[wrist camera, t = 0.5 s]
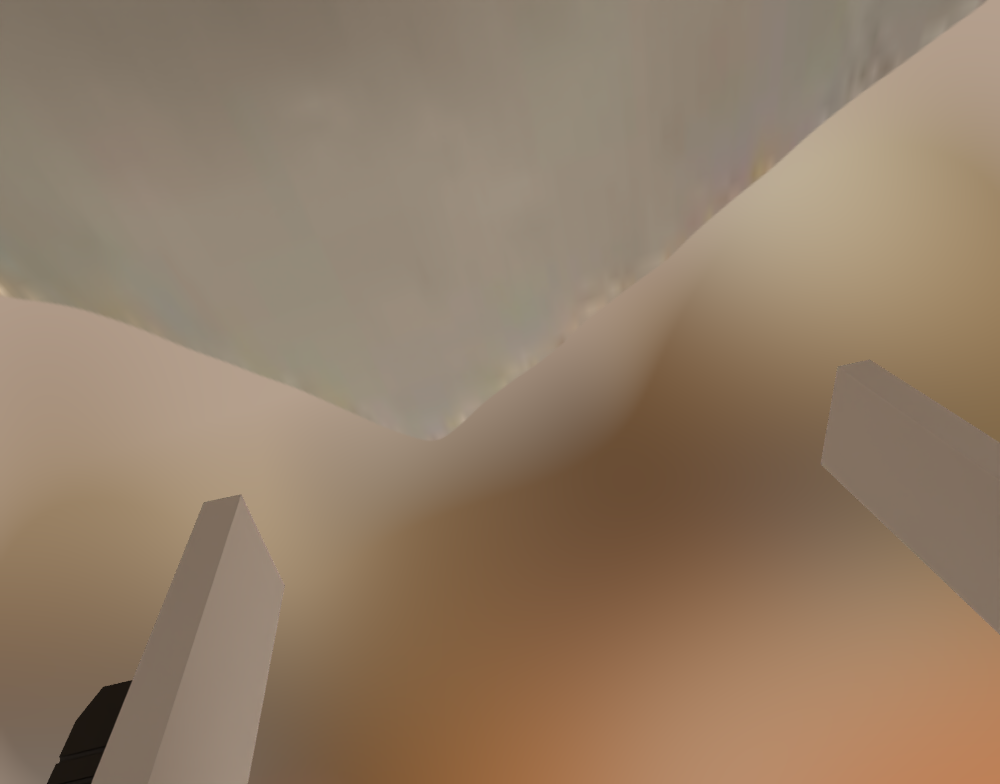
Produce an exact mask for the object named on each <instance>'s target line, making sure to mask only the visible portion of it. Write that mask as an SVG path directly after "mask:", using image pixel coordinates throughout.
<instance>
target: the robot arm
mask: <svg viewBox="0 0 1000 784" xmlns="http://www.w3.org/2000/svg"><path fill="white" fill-rule="evenodd" d="M821 465H822V466H823V467H824V468H825V469H826V470H827V471H829V473H830V474H832V475H833V476H834V477H835V478H836V479H837V480H838V481H839V482H840V483H841V484H842V485H843V486H844V487H845V488H846V489H847V490H849V492H851V493H852V494H853V495H854V496H855V497H856V498H857V499H858V500H859V501H860V502H861V503H862V504H863V505H864V506H865V507H866V508H867V509H868V510H869V511H870V512H871V513H873V514H874V515H875V516H876V517H877V518H878V519H879V520H880V521H881V522H882V523H883V524H884V525H885V526H886V527H887V528H888V529H889V530H891V532H892V533H894V534H895V535H896V536H897V537H898V538H899V539H900V540H901V541H902V542H903V543H904V544H905V545H906V546H907V547H908V548H909V549H910V550H911V551H912V552H914V553H915V554H916V555H917V556H918V557H919V558H920V559H921V560H922V561H923V562H924V563H925V564H926V565H927V566H928V567H929V568H930V569H931V570H932V571H933V572H935V573H936V574H937V575H938V576H939V577H940V578H941V579H942V580H943V581H944V582H945V583H946V584H947V585H948V586H949V587H950V588H951V589H952V590H953V591H954V592H956V593H957V594H958V595H959V596H960V597H961V598H962V599H963V600H964V601H965V602H966V603H967V604H968V605H969V606H970V607H971V608H972V609H973V610H975V611H976V612H977V613H978V614H979V615H980V616H981V617H982V618H983V619H984V620H985V621H986V622H987V623H988V624H989V625H990V626H991V627H992V628H994V629H995V630H996V631H997V632H998V633H999V634H1000V443H999V442H998V441H996V440H994V439H993V438H991V437H990V436H988V435H987V434H985V433H984V432H982V431H981V430H979V429H977V428H976V427H974V426H973V425H971V424H970V423H968V422H967V421H965V420H963V419H962V418H960V417H958V416H957V415H956V414H954V413H952V412H951V411H949V410H948V409H946V408H945V407H943V406H941V405H940V404H938V403H937V402H935V401H933V400H932V399H931V398H929V397H927V396H926V395H924V394H923V393H921V392H920V391H918V390H916V389H915V388H913V387H912V386H910V385H909V384H907V383H905V382H904V381H902V380H901V379H899V378H898V377H896V376H895V375H893V374H891V373H890V372H888V371H887V370H885V369H884V368H882V367H880V366H879V365H877V364H876V363H874V362H873V361H871V360H866V361H861V362H857V363H852V364H847V365H843V366H838V368H837V374H836V379H835V385H834V391H833V396H832V402H831V408H830V414H829V419H828V425H827V431H826V437H825V443H824V449H823V454H822V460H821ZM284 586H285V585H284V583H283V581H282V579H281V577H280V575H279V573H278V570H277V568H276V566H275V564H274V562H273V560H272V558H271V556H270V554H269V552H268V549H267V547H266V545H265V543H264V541H263V539H262V537H261V535H260V532H259V531H258V529H257V526H256V524H255V522H254V520H253V518H252V516H251V514H250V511H249V509H248V507H247V506H246V503H245V501H244V499H243V497H242V495H236V496H231V497H227V498H222V499H218V500H213V501H208V502H204V503H203V505H202V508H201V511H200V513H199V516H198V518H197V520H196V523H195V525H194V528H193V531H192V533H191V535H190V538H189V541H188V543H187V545H186V548H185V550H184V553H183V556H182V558H181V560H180V563H179V565H178V568H177V570H176V573H175V576H174V578H173V581H172V583H171V586H170V588H169V591H168V593H167V595H166V598H165V600H164V603H163V605H162V608H161V610H160V613H159V616H158V618H157V620H156V623H155V626H154V628H153V630H152V633H151V635H150V638H149V641H148V643H147V645H146V648H145V651H144V653H143V655H142V658H141V660H140V663H139V665H138V668H137V671H136V673H135V676H134V678H133V680H131V681H127V682H122V683H118V684H114V685H110V686H105V687H103V688H102V689H101V690H100V692H99V693H98V694H97V695H96V696H95V698H94V699H93V700H92V701H91V703H90V704H89V705H88V706H87V708H86V709H85V710H84V711H83V713H82V714H81V715H80V717H79V718H78V719H77V720H76V722H75V724H74V726H73V728H72V730H71V733H70V735H69V738H68V739H67V741H66V743H65V746H64V748H63V750H62V752H61V754H60V756H59V757H60V762H59V763H58V764H56V765H55V768H54V770H53V772H52V774H51V776H50V778H49V780H48V783H47V784H248V779H249V774H250V768H251V763H252V758H253V752H254V747H255V741H256V736H257V730H258V725H259V720H260V715H261V710H262V704H263V698H264V694H265V688H266V683H267V677H268V671H269V666H270V661H271V656H272V651H273V645H274V640H275V634H276V629H277V624H278V619H279V613H280V608H281V602H282V597H283V592H284Z"/></svg>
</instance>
